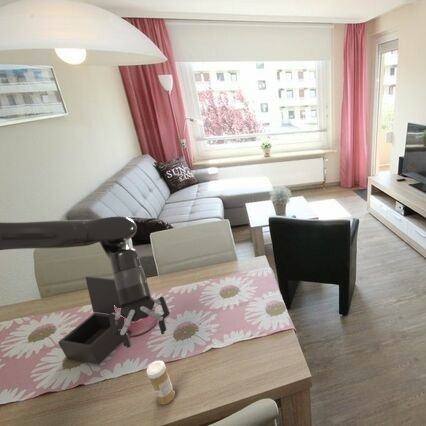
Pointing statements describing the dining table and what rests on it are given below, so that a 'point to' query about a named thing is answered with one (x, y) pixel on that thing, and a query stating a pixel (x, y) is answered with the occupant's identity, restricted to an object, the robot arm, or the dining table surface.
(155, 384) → the sprinkles bottle
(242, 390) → the dining table surface
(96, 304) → the box lid
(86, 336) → the dark open box
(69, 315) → the dining table surface
